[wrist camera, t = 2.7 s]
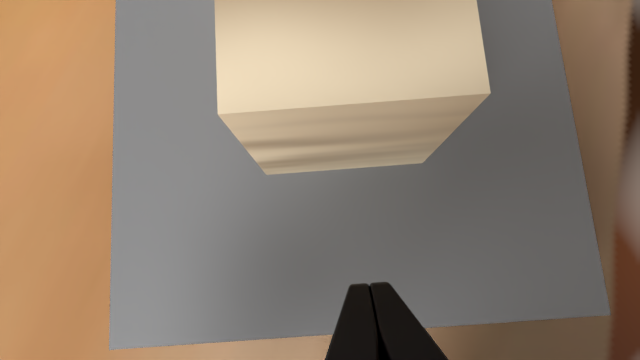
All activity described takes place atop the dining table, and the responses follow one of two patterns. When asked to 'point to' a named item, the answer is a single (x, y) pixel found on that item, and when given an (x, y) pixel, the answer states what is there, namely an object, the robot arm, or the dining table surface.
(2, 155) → the dining table surface
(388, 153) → the maple block
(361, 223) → the platform
